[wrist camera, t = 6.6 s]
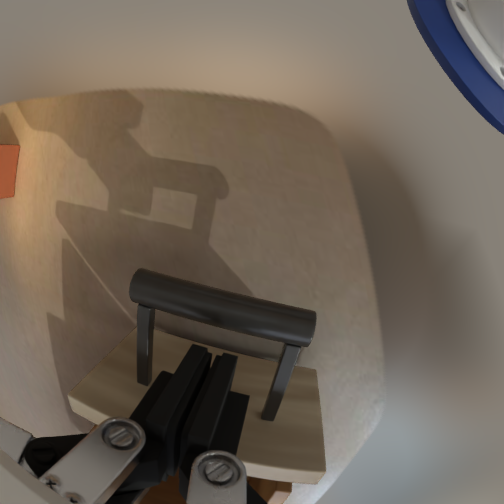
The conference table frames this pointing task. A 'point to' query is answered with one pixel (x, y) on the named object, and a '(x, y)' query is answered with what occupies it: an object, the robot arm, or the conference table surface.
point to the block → (8, 169)
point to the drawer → (245, 382)
